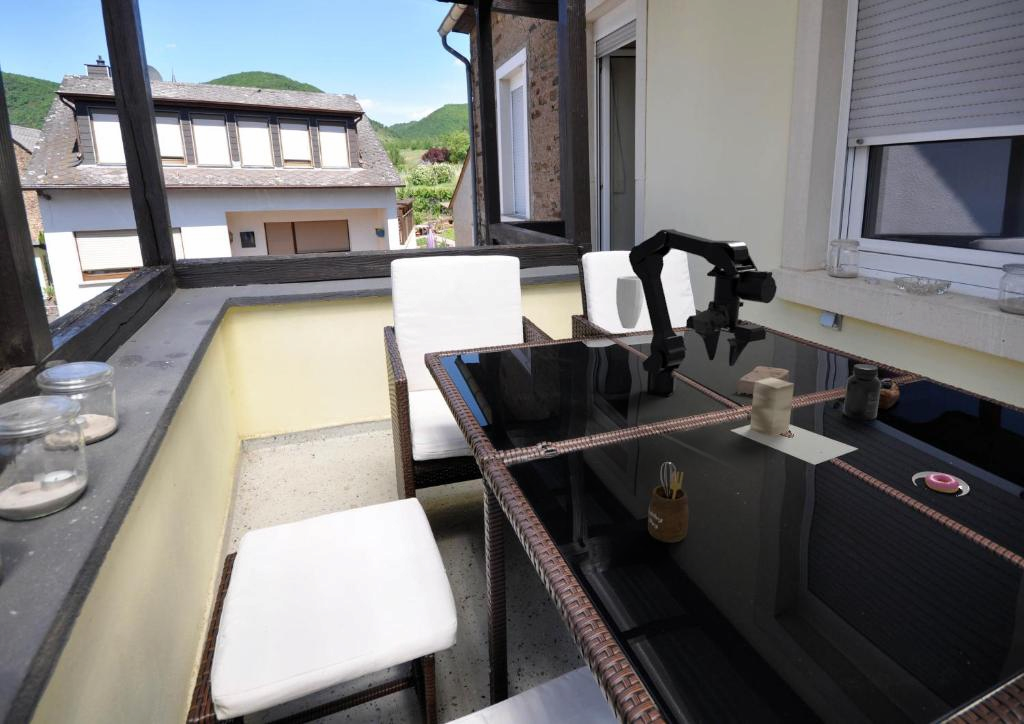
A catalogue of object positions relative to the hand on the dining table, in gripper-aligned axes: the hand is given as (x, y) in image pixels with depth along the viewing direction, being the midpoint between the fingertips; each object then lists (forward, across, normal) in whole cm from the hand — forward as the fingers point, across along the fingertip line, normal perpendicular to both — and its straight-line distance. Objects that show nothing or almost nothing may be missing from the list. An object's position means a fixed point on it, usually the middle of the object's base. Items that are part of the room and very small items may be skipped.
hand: (721, 362), depth 139 cm
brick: (+12, -5, +23) cm, 26 cm away
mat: (+12, +21, -2) cm, 24 cm away
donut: (+13, +46, +5) cm, 48 cm away
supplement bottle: (+12, +20, +25) cm, 34 cm away
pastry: (+12, +15, +38) cm, 43 cm away
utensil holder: (+12, +34, -49) cm, 60 cm away
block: (+11, +16, -2) cm, 19 cm away
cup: (+12, -74, +35) cm, 83 cm away
